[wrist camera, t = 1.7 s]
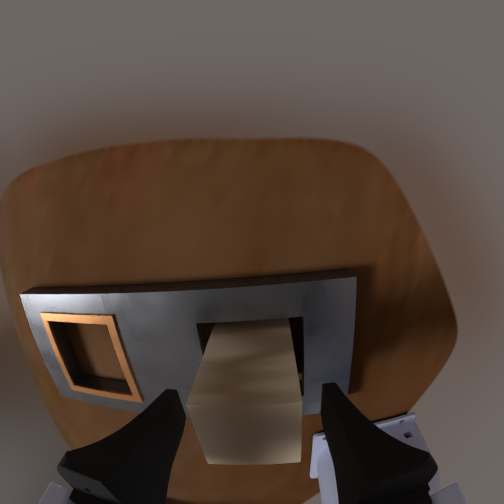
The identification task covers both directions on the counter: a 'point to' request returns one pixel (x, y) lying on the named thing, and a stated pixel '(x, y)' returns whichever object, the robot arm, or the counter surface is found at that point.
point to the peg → (248, 395)
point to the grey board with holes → (192, 331)
